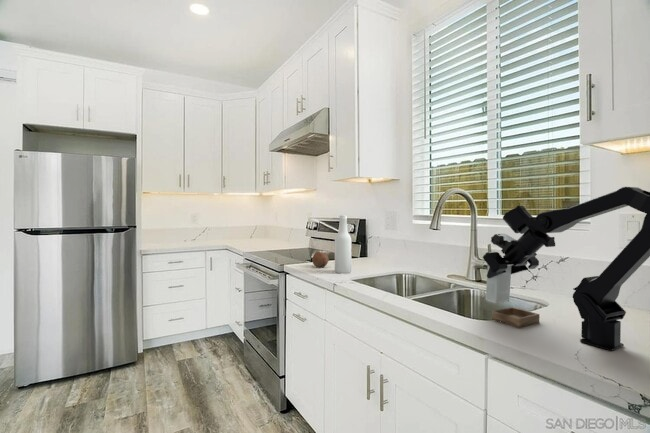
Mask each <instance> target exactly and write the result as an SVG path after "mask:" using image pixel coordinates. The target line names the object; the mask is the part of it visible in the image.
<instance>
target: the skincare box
mask: <svg viewBox="0 0 650 433" xmlns="http://www.w3.org/2000/svg"><path fill="white" fill-rule="evenodd" d="M507 266H508V267H507V269H506V270H505V271H506V273H503V274H500V275H497V276H495V277H492V278H488V277H487V276H486V285H485V286H486V288H485V300H486V301H488V302H491V303H493V304H502V303H509V302H510V297H511V296H510V293H511V278H512V277H511V276H512V274H511V265H507ZM489 268H490V267H489V265H488V264H487V271H486V274H487V273H488V271H489Z"/></svg>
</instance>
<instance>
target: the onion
mask: <svg viewBox="0 0 650 433" xmlns="http://www.w3.org/2000/svg"><path fill="white" fill-rule="evenodd" d="M311 261H312V264H313V265H314V266H315V267H316V268H321V267H322V268H326V266H327V264H329V256H328V254H327V253H326V252H323V251H316V252H315V253H314V254H313V256H312V259H311Z"/></svg>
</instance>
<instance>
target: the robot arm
mask: <svg viewBox="0 0 650 433" xmlns="http://www.w3.org/2000/svg"><path fill="white" fill-rule="evenodd" d="M625 207H630V208H631V209H634V210H636V211H639V212H641V213H643V214H645V216H644V218H643V222H642V225H641V228H640V230H639V231H638V233H636V235H635V236H634V237H633V238H632V239H631V240H630V241H629V242H628V244H627V245H626V246H625V247H624V248H623V249H622V250H621V251H620V252H619V253H618V254H617V256H616V257H614V259H613V260H612V261H611V262H610V263H609V265H608V266H606V268H605V269H603V271H602V272H601V273H600V274H599V275H596V276H595V275H593V276H588V277H586V276H585V277H583V278H582V279H581V281H580V282H579V284H578V285H577V286H576V287H574V288H572V289H573V290H574V292H573V294H572V299H573V303H574V305H575V306H576V307H577V310H578V313H579V315H580V318H581V319H583V321H581V330H580V331H581V334H580V335H581V338H580V339H579V341H580V343H584V344H586V345H591V346H594V347H596V348H600V349H604V350H607V351H616V350H617V349H618V350H619V349H620V348H622V347H624V345H625V344H624V343H622V342H621V328H622V327H621V324H622V323H621V322H622V320H623V319H624V317H625V316H626V314H627V312H626V311H625V309H624V308H623V307H622V306H621V305H620V304H619V303H618V302H617V301H616V300H617V298H618V297H619V294H620V291H621V288H622V286H623V284H624V283H625V282H626V281H627V280H629V279H630V277H631V276H633V274H634V273H635V272H637V270H638V269H640V267H641V266H642V265H643V264H644V263H645V262H646V261H647V260H648V259H649V258H650V191H649V190H644V189H642V188H640V187H638V186H637V187H635V186H623V187H620V188H618V189H617V190H615V191H612V192H609V193H606V194H603V195H601V196H598V197H595V198H593V199H590V200H587V201H584V202H580V203H578V204H576V205H573V206H569V207H567V208H560V209H553V210H548V211H542V212H539V213H538V214H537V215H536V216H532V214H531V213H529V211H528V210H527V209H526V207H525V206H524V205H517V206H516V207H515V208H512V209H510V210H509V211H507V212H505V213H504V214H503V216H502V220H503V221H504V222H505V223H506V224H507V226H508V227H509V228H510V229H511V230H512V232H514V233H515V234H521V236H520V237H519V238H518V239H516V238H514V237H512V236H510V235H509V234H506V233H495V234H493V235H492V236H491V237H490V239H491V240H490V242H491V244H493V245H494V246H498V248H500V249H501V250H500V251H501V253H502V254H504V255H503V256H502V255H501V254H500V252H498V251H489V252H486V253H485V254H484V255H483V256H482V259H483V260H484V261H485V263H486V264H487V266H488V265H489V267H490V268H489V271H488V273H487V272H486V278H487V277H488V278H492V277H495V276H497V275H500V274H503V273H506V271H505V270H506V269H507V267H508V266H507V265H511V275H515V274H518V273H521V272H526V271H528V270H534V269H536V268H537V267H538V266H540V260H538V258H537V257H536V256H537V255H538V254H537V252H538V251H539V250H540V249H542V248H543V247H546V248H552V247H553V248H554V247H556V241H555V236H550V235H549V234H555V233H559V234H560V233H563V232H565V231H567V230H569V229H571V228H573V227H574V226H576V225H577V224H578V223H580V222H582V221H586V220H588V219H592V218H594V217H598V216H601V215H603V214H607V213H610V212H613V211H616V210H620V209H623V208H625ZM528 264H529V265H528Z"/></svg>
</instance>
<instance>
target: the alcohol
mask: <svg viewBox="0 0 650 433" xmlns="http://www.w3.org/2000/svg"><path fill="white" fill-rule="evenodd" d="M347 217H348V216H347V215H346V214H345V215H343V214H340V215H339V223H338V224H339V225H338V232H337V233H336V235H335V237H334V272H335V273H337V274H340V273H347V274H351V272H352V236H351V235H350V233H349V230H348V220H347V219H348V218H347Z"/></svg>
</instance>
